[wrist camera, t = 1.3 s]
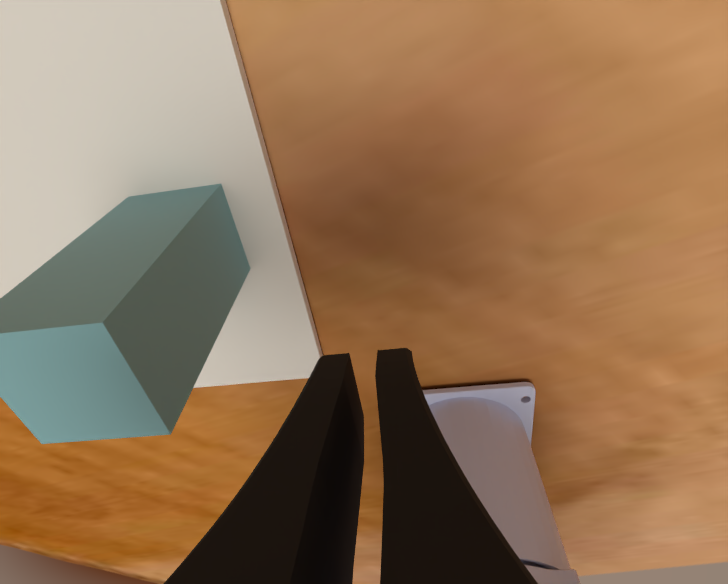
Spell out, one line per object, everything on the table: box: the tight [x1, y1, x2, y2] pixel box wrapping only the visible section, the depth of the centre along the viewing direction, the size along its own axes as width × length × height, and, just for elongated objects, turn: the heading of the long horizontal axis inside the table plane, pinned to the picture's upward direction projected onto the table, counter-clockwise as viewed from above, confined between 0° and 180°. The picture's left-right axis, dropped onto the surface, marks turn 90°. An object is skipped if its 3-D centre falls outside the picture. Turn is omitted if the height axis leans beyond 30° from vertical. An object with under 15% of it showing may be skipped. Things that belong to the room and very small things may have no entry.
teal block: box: [0, 184, 251, 444], centre depth 15 cm, size 4×4×9 cm
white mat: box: [0, 0, 323, 388], centre depth 20 cm, size 18×16×1 cm
